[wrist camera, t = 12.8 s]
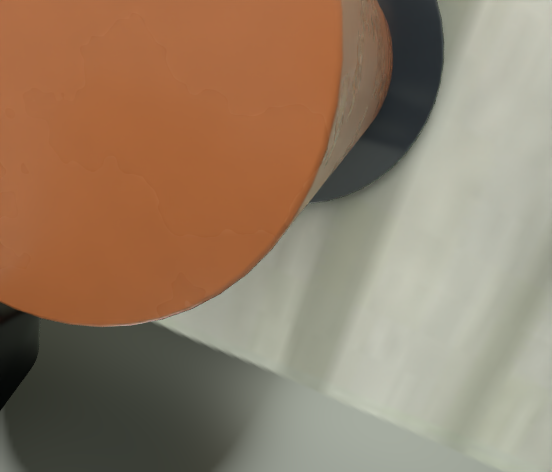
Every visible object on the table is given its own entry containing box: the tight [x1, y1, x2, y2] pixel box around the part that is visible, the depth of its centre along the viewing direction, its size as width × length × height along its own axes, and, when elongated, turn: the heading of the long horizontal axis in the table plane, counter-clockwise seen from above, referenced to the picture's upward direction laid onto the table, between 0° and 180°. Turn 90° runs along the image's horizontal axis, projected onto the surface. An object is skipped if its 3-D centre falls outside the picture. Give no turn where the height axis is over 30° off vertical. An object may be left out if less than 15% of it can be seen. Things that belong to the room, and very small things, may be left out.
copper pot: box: [0, 0, 393, 327], centre depth 12 cm, size 10×7×13 cm
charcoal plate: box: [308, 0, 444, 204], centre depth 18 cm, size 10×10×1 cm
